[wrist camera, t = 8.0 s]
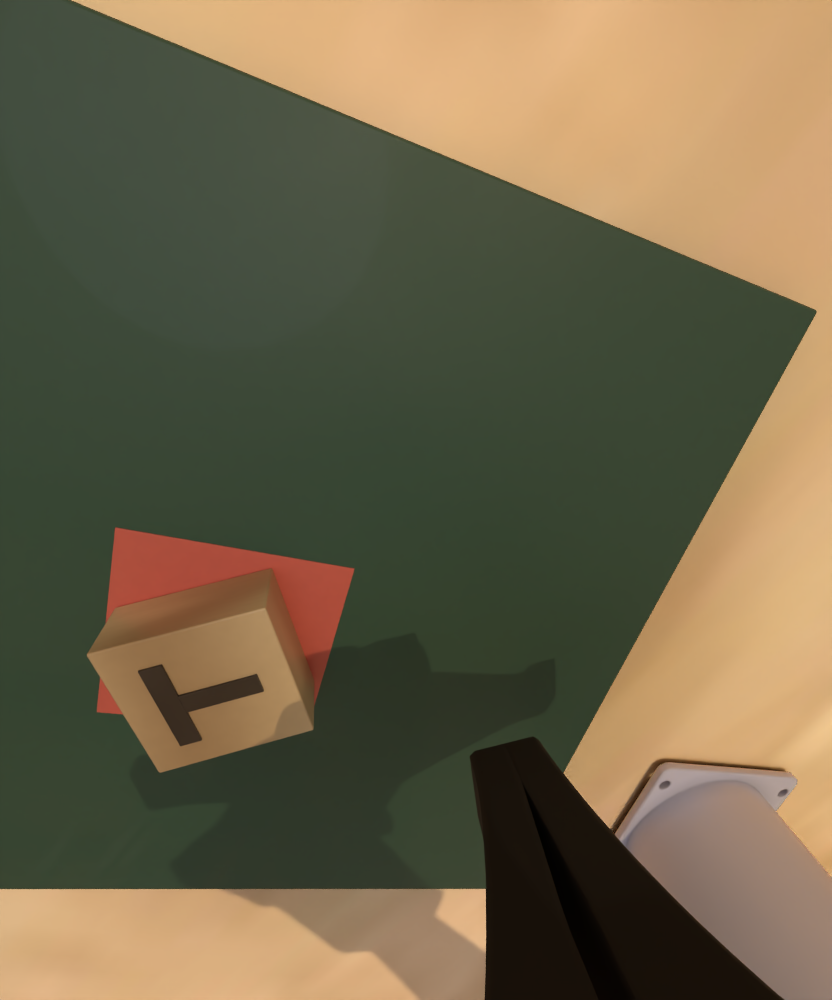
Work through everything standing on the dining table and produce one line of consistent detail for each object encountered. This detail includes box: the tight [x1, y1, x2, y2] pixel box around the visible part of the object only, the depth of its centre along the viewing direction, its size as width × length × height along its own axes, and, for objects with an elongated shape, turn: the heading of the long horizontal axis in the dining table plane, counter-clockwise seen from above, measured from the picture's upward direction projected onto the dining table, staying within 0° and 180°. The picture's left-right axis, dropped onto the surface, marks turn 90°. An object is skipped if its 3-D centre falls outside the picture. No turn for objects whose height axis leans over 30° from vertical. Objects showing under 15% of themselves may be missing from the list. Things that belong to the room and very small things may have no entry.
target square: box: [97, 527, 354, 714], centre depth 15 cm, size 6×6×1 cm
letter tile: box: [87, 568, 314, 773], centre depth 15 cm, size 4×4×2 cm
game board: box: [0, 0, 816, 889], centre depth 16 cm, size 26×26×1 cm
